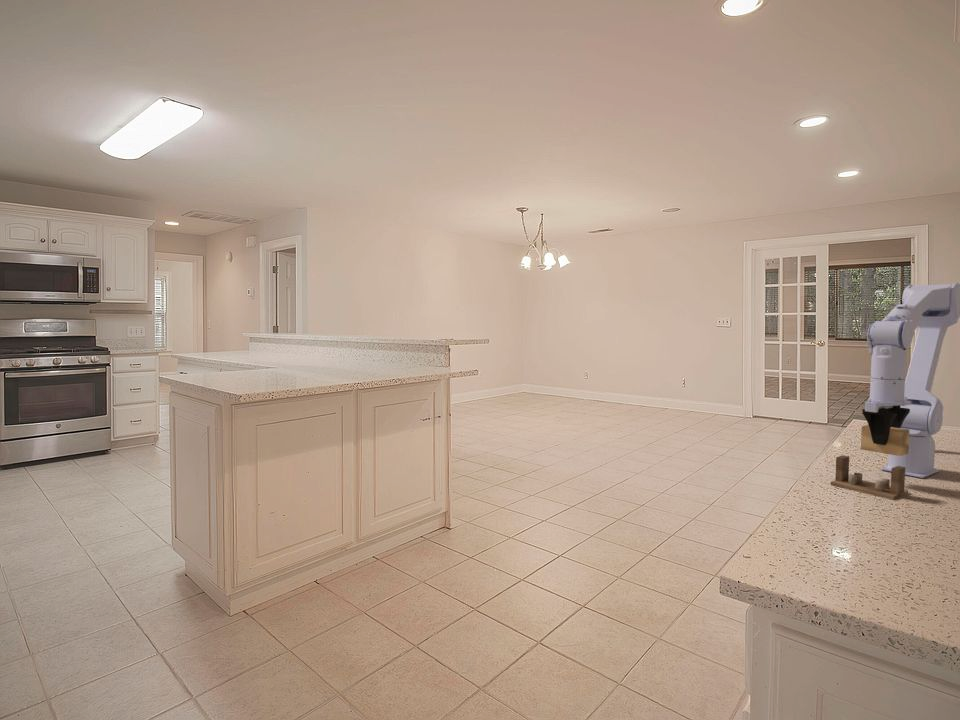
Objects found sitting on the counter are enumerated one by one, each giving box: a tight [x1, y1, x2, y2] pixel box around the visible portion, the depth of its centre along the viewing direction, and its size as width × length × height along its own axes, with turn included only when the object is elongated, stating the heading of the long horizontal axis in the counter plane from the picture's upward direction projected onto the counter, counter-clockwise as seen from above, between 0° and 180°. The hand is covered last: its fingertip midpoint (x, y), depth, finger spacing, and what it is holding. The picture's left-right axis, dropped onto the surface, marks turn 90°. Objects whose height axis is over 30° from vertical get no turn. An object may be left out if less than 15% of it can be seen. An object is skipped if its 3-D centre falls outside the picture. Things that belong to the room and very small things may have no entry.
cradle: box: [830, 454, 909, 501], centre depth 107 cm, size 7×11×6 cm, turn 32°
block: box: [860, 424, 910, 456], centre depth 110 cm, size 4×7×5 cm, turn 32°
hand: (884, 442), depth 110 cm, fingers closed on block, 4 cm apart
